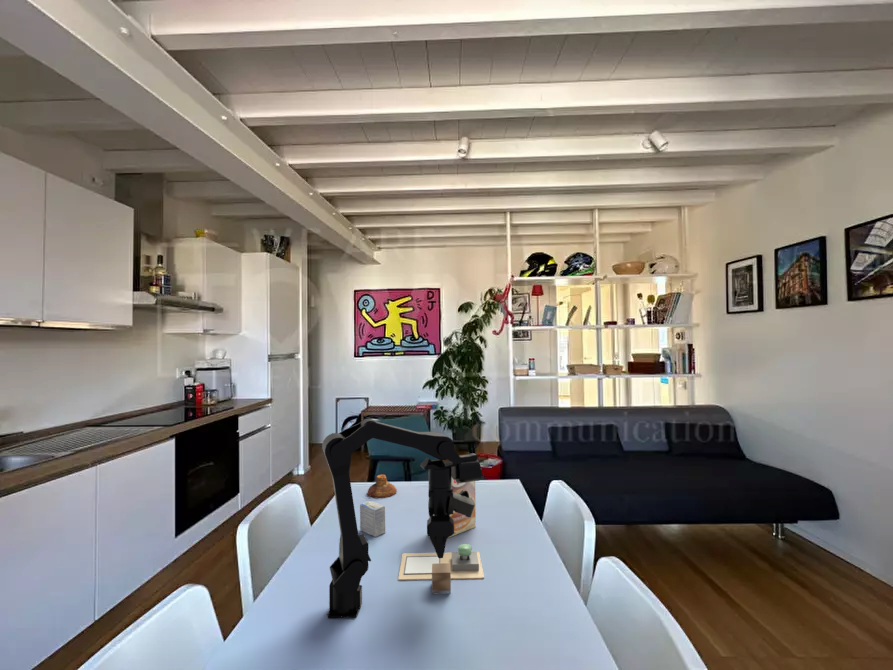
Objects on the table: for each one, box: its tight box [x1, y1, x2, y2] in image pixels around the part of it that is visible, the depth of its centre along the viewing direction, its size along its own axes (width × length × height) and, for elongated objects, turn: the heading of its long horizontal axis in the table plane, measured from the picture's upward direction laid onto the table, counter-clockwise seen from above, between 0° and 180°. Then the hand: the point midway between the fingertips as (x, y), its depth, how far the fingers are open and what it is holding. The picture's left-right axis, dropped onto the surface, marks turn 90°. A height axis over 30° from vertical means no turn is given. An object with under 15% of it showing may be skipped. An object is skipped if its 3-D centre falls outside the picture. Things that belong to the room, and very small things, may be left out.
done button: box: [457, 543, 472, 560], centre depth 118 cm, size 4×4×4 cm
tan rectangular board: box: [397, 551, 485, 581], centre depth 118 cm, size 22×14×1 cm, turn 91°
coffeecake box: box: [428, 478, 477, 539], centre depth 141 cm, size 15×7×20 cm, turn 131°
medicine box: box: [359, 500, 386, 538], centre depth 140 cm, size 8×4×9 cm, turn 47°
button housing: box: [451, 551, 479, 571], centre depth 118 cm, size 7×7×2 cm
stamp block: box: [431, 563, 452, 595], centre depth 107 cm, size 4×4×5 cm
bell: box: [367, 474, 398, 499], centre depth 178 cm, size 12×12×7 cm
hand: (440, 548), depth 107 cm, fingers open, 9 cm apart
